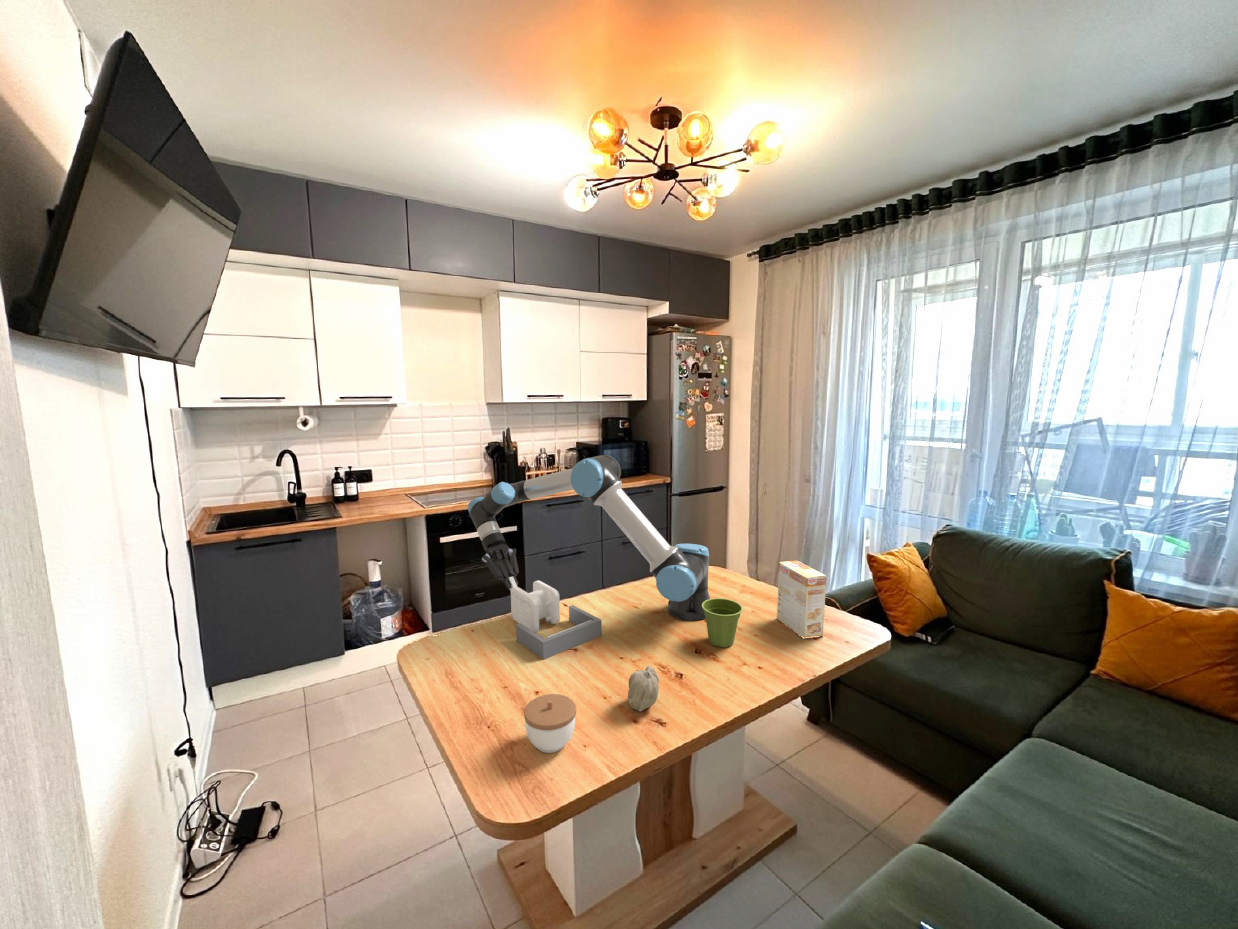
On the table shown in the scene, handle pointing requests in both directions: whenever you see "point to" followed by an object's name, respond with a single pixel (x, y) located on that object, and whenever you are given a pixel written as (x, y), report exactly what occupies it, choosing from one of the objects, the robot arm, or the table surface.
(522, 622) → the cable organizer
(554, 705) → the lidded jar
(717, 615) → the plant pot
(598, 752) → the table surface
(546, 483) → the robot arm
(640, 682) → the grey lumpy rounded piece
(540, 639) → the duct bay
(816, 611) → the coffeecake box
